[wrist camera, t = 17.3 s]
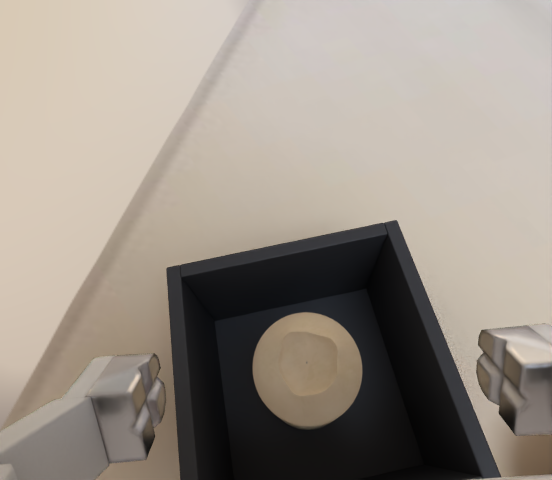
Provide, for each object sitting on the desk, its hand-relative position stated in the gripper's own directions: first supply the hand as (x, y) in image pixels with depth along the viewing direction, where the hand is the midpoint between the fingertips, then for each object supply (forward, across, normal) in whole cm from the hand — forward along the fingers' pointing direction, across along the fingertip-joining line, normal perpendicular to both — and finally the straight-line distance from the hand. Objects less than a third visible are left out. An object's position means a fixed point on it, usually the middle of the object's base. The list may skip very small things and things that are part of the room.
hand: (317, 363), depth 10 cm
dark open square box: (+15, 0, +12) cm, 19 cm away
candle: (+14, 0, +12) cm, 19 cm away
